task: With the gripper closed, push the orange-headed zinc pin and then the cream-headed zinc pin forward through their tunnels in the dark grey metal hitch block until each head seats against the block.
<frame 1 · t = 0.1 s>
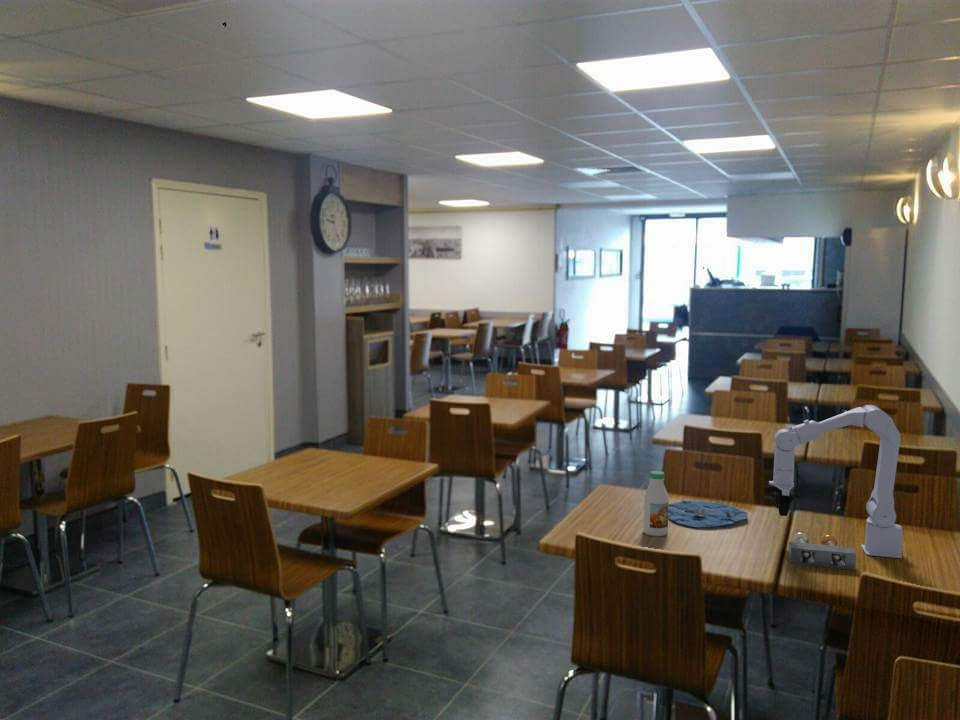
hand: (781, 511, 229), 10 cm above the table, tool pointing down, fingers open, 7 cm apart
pin 1: (803, 547, 220), point 2 cm above the table, slide at 0.0 cm
pin 2: (832, 549, 218), point 2 cm above the table, slide at 0.0 cm
milk bottle: (655, 533, 239), on the table
decorative plate: (702, 517, 256), on the table
hitch block: (820, 563, 214), on the table
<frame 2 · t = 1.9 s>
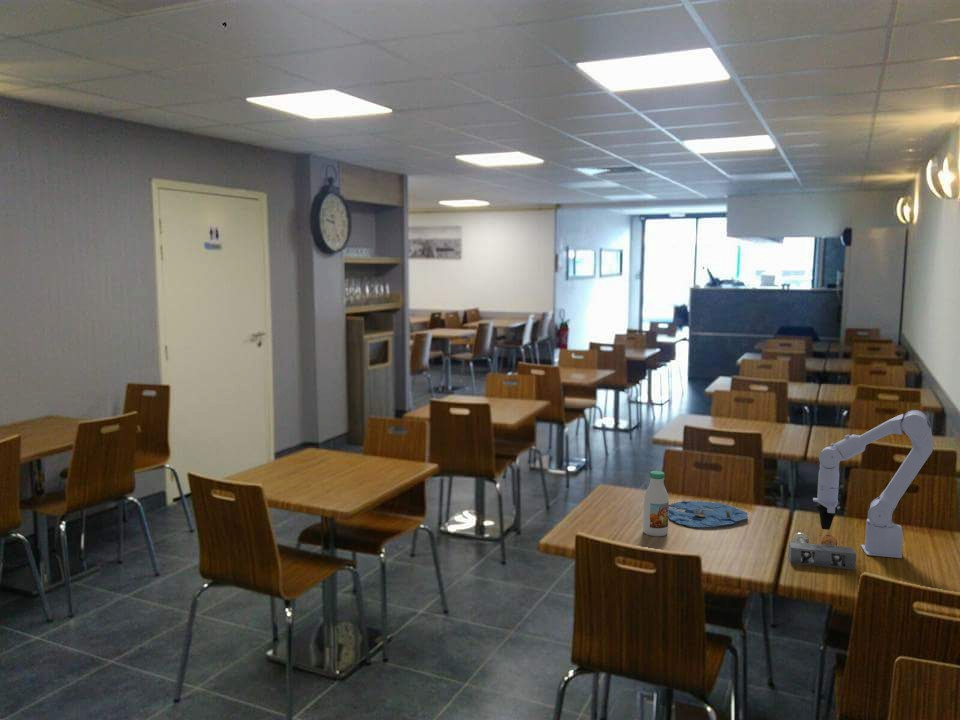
hand: (825, 528, 230), 5 cm above the table, tool pointing down, fingers closed
nothing on the table moved.
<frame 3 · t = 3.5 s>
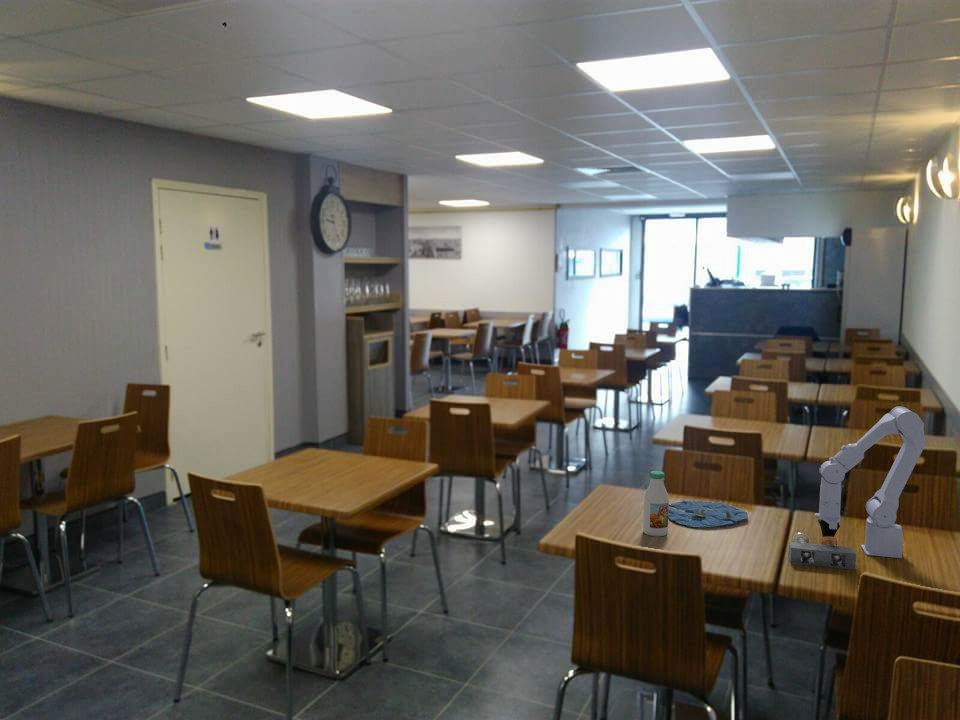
hand: (827, 544, 226), 1 cm above the table, tool pointing down, fingers closed
pin 2: (832, 549, 218), point 2 cm above the table, slide at 0.0 cm, touching gripper
everything else where it was.
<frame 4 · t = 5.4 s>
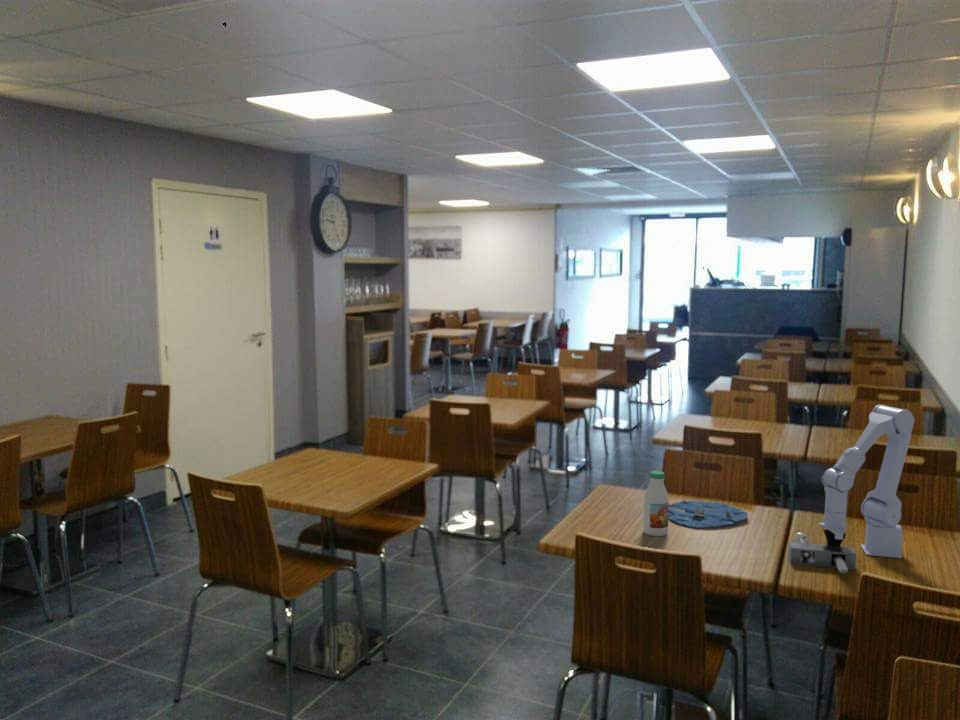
hand: (832, 555, 218), 1 cm above the table, tool pointing down, fingers closed
pin 2: (838, 560, 210), point 2 cm above the table, slide at 8.5 cm, touching gripper, hitch block
everything else where it was.
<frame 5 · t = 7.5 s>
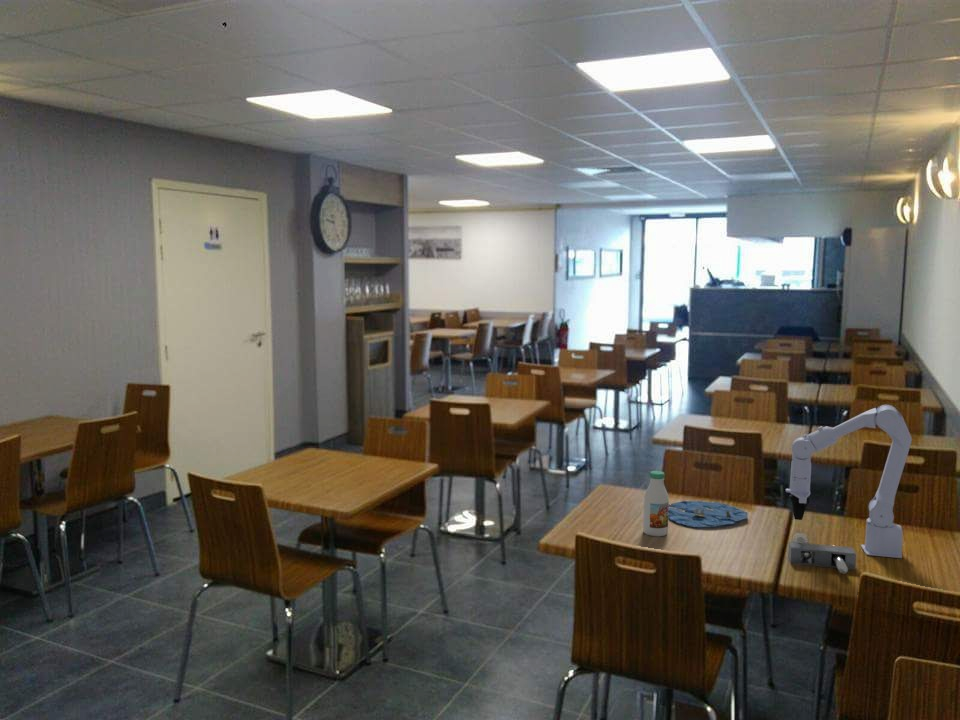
hand: (798, 519, 231), 7 cm above the table, tool pointing down, fingers closed
pin 2: (838, 560, 210), point 2 cm above the table, slide at 8.5 cm, touching hitch block
everything else where it was.
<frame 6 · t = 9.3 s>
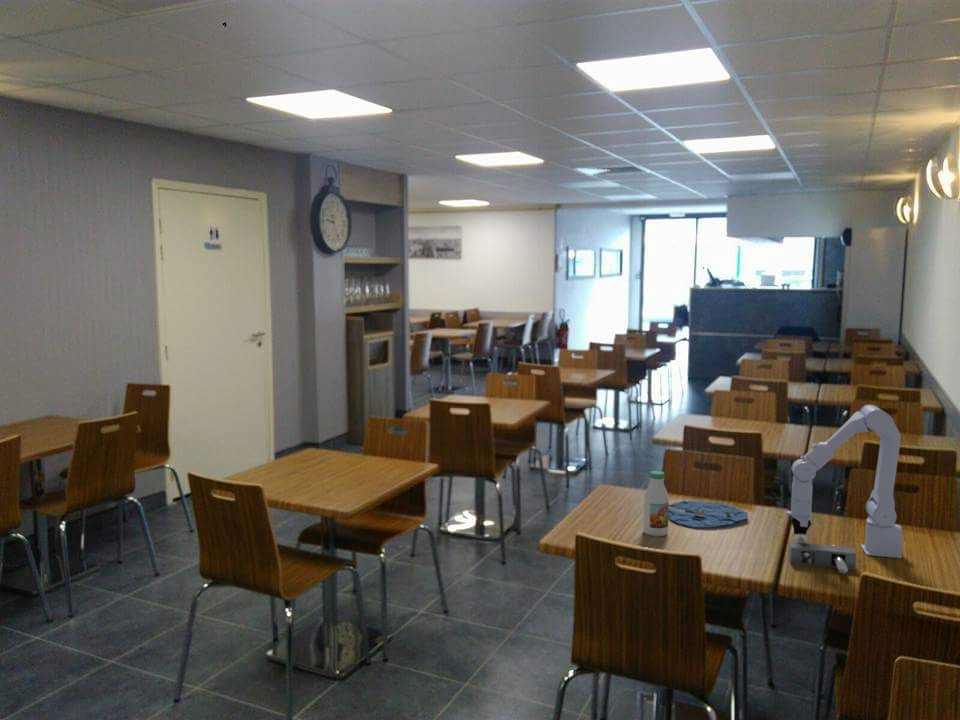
hand: (799, 542, 228), 1 cm above the table, tool pointing down, fingers closed
pin 1: (803, 547, 220), point 2 cm above the table, slide at 0.2 cm, touching gripper
everything else where it was.
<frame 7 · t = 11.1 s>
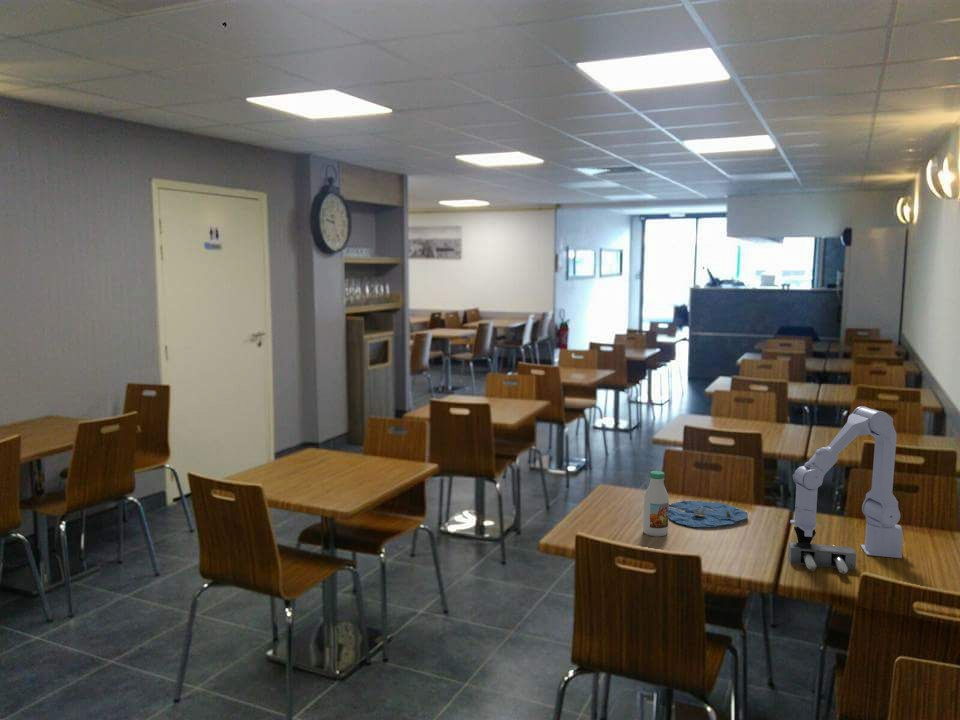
hand: (803, 552, 220), 1 cm above the table, tool pointing down, fingers closed
pin 1: (807, 557, 212), point 2 cm above the table, slide at 8.5 cm, touching gripper, hitch block
everything else where it was.
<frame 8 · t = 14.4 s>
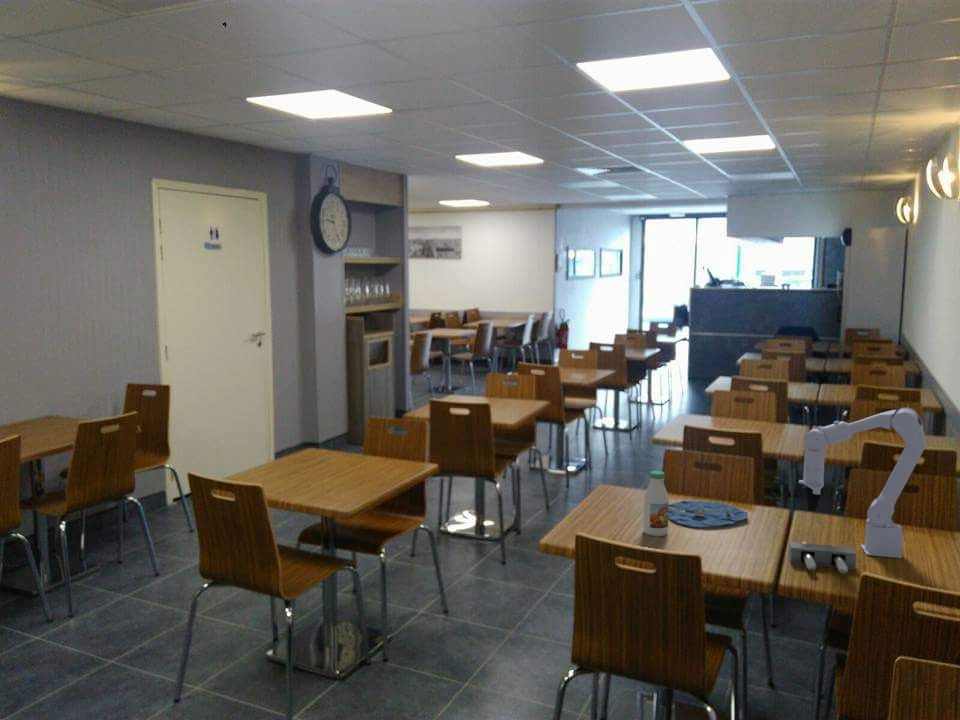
hand: (811, 510, 232), 9 cm above the table, tool pointing down, fingers closed
pin 1: (807, 557, 212), point 2 cm above the table, slide at 8.5 cm, touching hitch block
everything else where it was.
at the end: pin 2 slide at 8.5 cm; pin 1 slide at 8.5 cm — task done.
